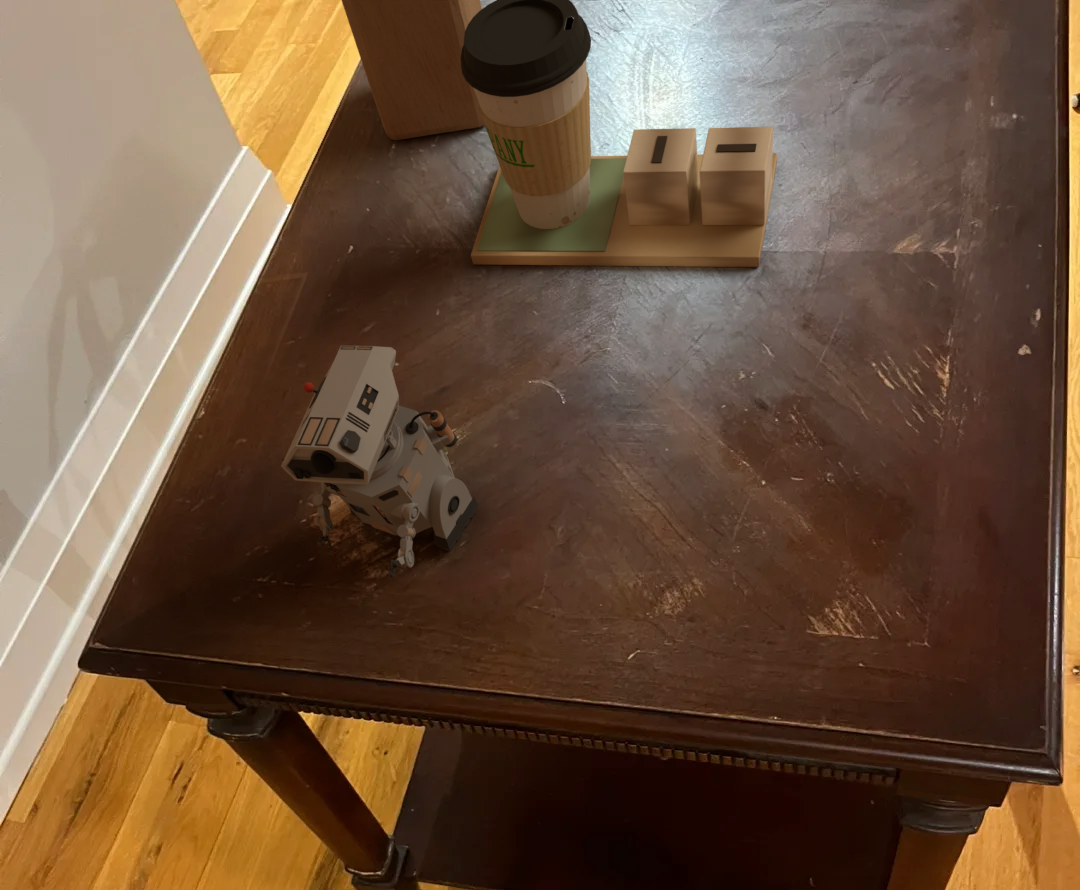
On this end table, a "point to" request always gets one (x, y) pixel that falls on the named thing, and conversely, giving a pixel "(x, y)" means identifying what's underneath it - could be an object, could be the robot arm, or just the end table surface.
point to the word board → (651, 242)
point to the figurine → (378, 455)
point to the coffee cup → (535, 103)
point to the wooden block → (416, 63)
